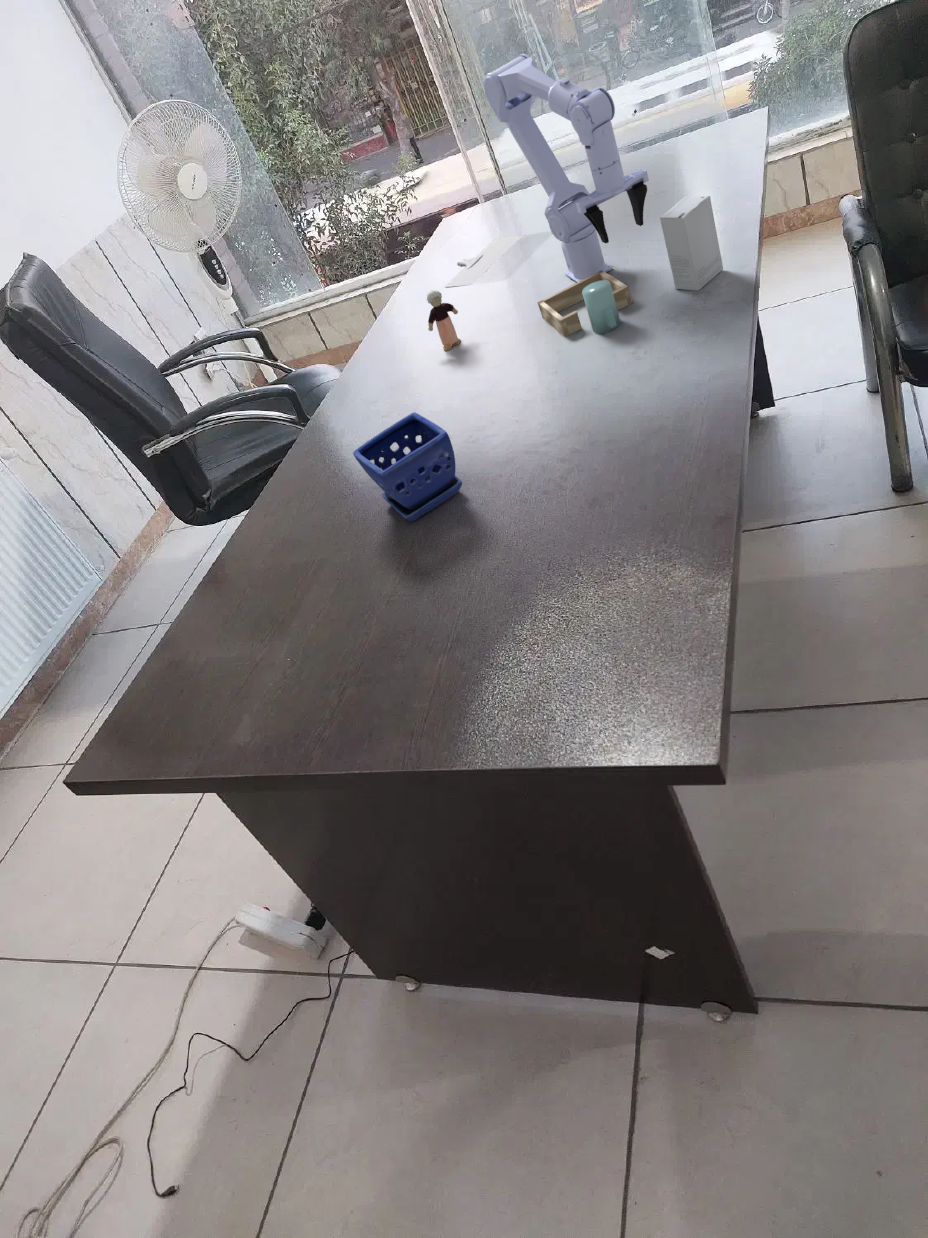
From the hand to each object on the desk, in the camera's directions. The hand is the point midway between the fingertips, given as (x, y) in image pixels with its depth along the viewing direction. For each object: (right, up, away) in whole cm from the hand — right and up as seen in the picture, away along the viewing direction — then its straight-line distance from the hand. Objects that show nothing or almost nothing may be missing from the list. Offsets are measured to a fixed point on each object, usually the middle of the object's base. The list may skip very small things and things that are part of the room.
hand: (622, 232), depth 173 cm
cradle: (-6, -14, +5) cm, 16 cm away
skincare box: (+14, -11, -4) cm, 19 cm away
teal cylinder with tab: (-4, -20, -4) cm, 21 cm away
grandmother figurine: (-34, -17, +18) cm, 42 cm away
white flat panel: (-24, +14, +47) cm, 55 cm away
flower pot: (-38, -57, -25) cm, 73 cm away
